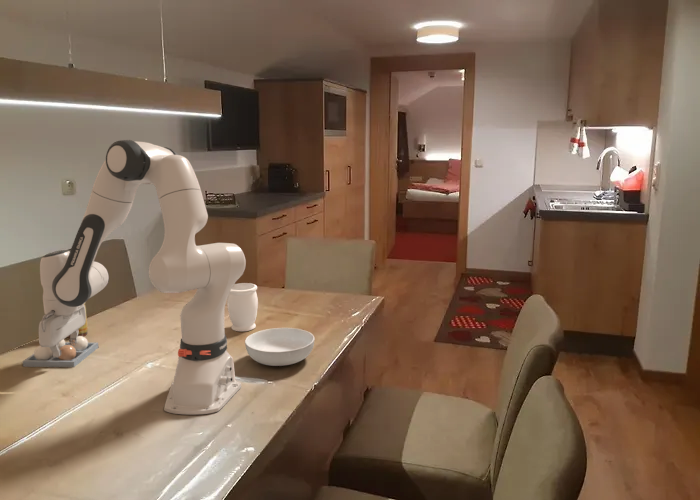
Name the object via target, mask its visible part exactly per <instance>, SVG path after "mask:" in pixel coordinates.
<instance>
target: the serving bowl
mask: <svg viewBox="0 0 700 500" xmlns="http://www.w3.org/2000/svg"><path fill="white" fill-rule="evenodd" d="M244 340H245V341H244V345H245V350H246V352H247V354H248V355H249V357H250V358H251V359H252V360H253V361H255V362H257V363H259V364H261V365H264V366H265V365H266V366H272V367H278V366H279V367H282V366H283V367H284V366H290V365H293V364H296V363H299V362H301V361H303V360H305V359H306V358H307V357H308V356H309V355H310V354H311V353H312V351H313V349H314V345H315V341H316V340H315V336H314V334H313V333H312V332H310V331H307V330H305V329H301V328H294V327H275V328H267V329H262V330H259V331H256V332H254V333H251V334H249V335H248V336H247V337H246V338H245V339H244Z"/></svg>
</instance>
